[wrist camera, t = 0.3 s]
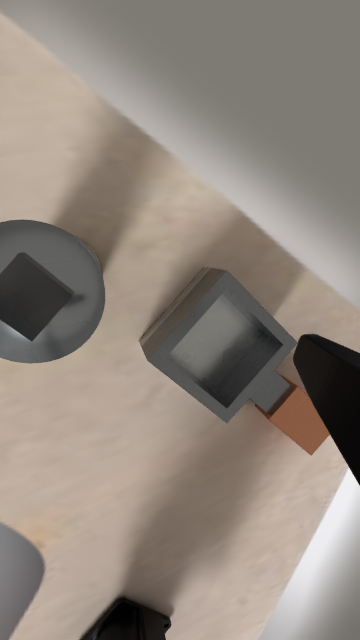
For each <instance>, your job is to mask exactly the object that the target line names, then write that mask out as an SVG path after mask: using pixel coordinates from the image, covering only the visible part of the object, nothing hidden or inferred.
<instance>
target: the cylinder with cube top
mask: <svg viewBox="0 0 360 640" xmlns="http://www.w3.org/2000/svg"><path fill="white" fill-rule="evenodd" d="M104 304H105V288H104V281H103V276H102V270H101V264H100V261H99V258H98V256H97V254H96V252H95V251H94V250H93V249H92V248H91V247H90V246H89V245H88V244H87V243H85V242H84V241H82V240H80V239H78V238H76V237H75V236H73V235H71V234H69V233H67V232H66V231H64V230H62V229H60V228H57V227H55V226H53V225H50V224H47V223H43V222H38V221H33V220H11V221H6V222H1V223H0V357H1V358H3V359H7V360H10V361H15V362H20V363H42V362H48V361H52V360H56V359H59V358H62V357H64V356H66V355H68V354H70V353H72V352H74V351H75V350H77V349H78V348H79V347H81V346H82V345H83V344H84V343H85V342H86V341H87V340H88V339H89V338H90V337H91V335H92V334H93V333H94V331H95V330H96V328H97V326H98V324H99V322H100V320H101V317H102V314H103V310H104Z"/></svg>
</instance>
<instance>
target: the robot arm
mask: <svg viewBox="0 0 360 640" xmlns="http://www.w3.org/2000/svg"><path fill="white" fill-rule="evenodd" d="M293 361H294V365H295V367H296V369H297V371H298V373H299V376H300V378H301V380H302V382H303V384H304V386H305V389H306V391H307V393H308V395H309V397H310V400H311V402H312V404H313V406H314V407H315V409H316V411H317V413H318V415H319V416H320V418H321V420H322V421H323V423H324V425H325V427H326V428H327V430H328V432H329V433H330V435H331V437H332V439H333V440H334V442H335V444H336V446H337V447H338V449H339V451H340V452H341V454H342V456H343V458H344V459H345V461H346V463H347V464H348V466H349V468H350V470H351V471H352V473H353V475H354V477H355V478H356V480H357V482H358V483H359V485H360V353H358V352H356V351H354V350H351V349H349V348H347V347H344V346H342V345H340V344H337V343H335V342H333V341H331V340H328V339H326V338H324V337H321V336H319V335H317V334H304V335H302V336H301V337H300V339H299V342H298V344H297V347H296V350H295V353H294V356H293ZM170 627H171V620H170V618H169V617H167V616H164V615H162V614H160V613H158V612H156V611H153V610H151V609H149V608H147V607H144V606H142V605H140V604H138V603H136V602H133V601H131V600H129V599H127V598H124V597H123V598H119V599H118V600H117V601H116V602H115V603H114V604H113V606H112V607H111V608H110V609H109V610H108V611H107V612H106V614H105V615H104V616H103V617H102V618H101V619H100V620H99V622H98V623H97V624H96V625H95V626H94V627H93V628H92V630H91V631H90V632H89V633H88V634H87V635H86V636H85V637H84V639H83V640H166V638H165V633H166V632H167V630H168V629H169V628H170Z"/></svg>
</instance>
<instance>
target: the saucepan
mask: <svg viewBox="0 0 360 640" xmlns="http://www.w3.org/2000/svg"><path fill="white" fill-rule="evenodd" d="M139 343H140V345H141V347H142V349H143V352H144V354H145V356H146V358H147V361H149V362H150V363H151V364H152V365H154V366H155V367H156V368H158V369H159V370H160V371H161V372H163V373H164V374H165V375H166V376H168V377H169V378H170V379H171V380H173V381H174V382H175V383H177V384H178V385H179V386H180V387H182V388H183V389H184V390H185V391H187V392H188V393H189V394H190V395H192V396H193V397H194V398H196V399H197V400H198V401H199V402H201V403H202V404H203V405H204V406H206V407H207V408H208V409H209V410H211V411H212V412H213V413H215V414H216V415H217V416H218V417H220V418H221V419H222V420H223V421H225V422H226V423H228V422H229V420H230V419H231V418H232V417H233V416H234V415H235V414H236V413H237V411H238V410H239V409H240V408H241V407H242V406H243V405H244V403H245V402H246V401H247V400H248V399H249V398H250V399H251V400H252V401H254V402H255V403H256V407H257V408H258V409H259V410H260V411H261V412H262V413H263V414H264V415H265V416H266V417H267V418H268V419H269V420H270V421H271V422H272V423H273V424H274V425H276V426H277V427H278V428H279V429H280V430H282V431H283V432H284V433H285V434H286V435H287V436H289V437H290V438H291V439H292V440H293V441H294V442H296V443H297V444H298V445H299V446H300V447H302V448H303V449H304V450H305V451H306V452H307V453H309V454H310V455H312V454H313V453H314V452H315V451H316V450H317V448H318V447H319V446H320V445H321V444H322V443H323V442H324V440H325V439H326V438H327V437H328V436H329V435H330V433H329V432H328V430H327V428H326V427H325V425H324V423H323V421H322V420H321V418H320V416H319V415H318V413H317V411H316V409H315V407H314V406H313V404H312V402H311V400H310V398H309V397H308V396H307V395H306V394H305V393H304V392H303V391H302V390H301V389H300V388H299V387H298V386H296V385H295V384H293V383H292V382H291V381H289V380H288V379H286V378H285V377H283V376H280V375H279V374H278V373H277V372H276V371H275V370H274V369H275V368H276V367H277V366H278V365H279V364H280V363H281V361H282V360H283V359H284V358H285V357H286V356H287V355H288V353H289V352H290V351H291V350H292V349H293V348H294V347H295V346H296V344H297V342H296V341H295V340H294V339H293V338H292V337H291V336H290V334H289V333H288V332H287V331H286V330H285V329H284V328H283V327H282V326H281V325H280V324H279V323H278V322H277V321H276V320H275V319H274V318H273V317H272V316H271V315H270V314H269V313H268V312H267V311H266V310H265V309H264V308H263V307H262V306H261V305H260V304H259V303H258V302H257V301H256V300H255V299H254V298H253V297H252V295H251V294H250V293H249V292H248V291H247V290H246V289H245V288H244V287H243V286H242V285H241V284H240V283H239V282H238V281H237V280H236V279H235V278H234V277H233V276H232V275H231V274H230V273H229V272H228V271H227V270H221V269H215V268H209V267H204V268H203V269H202V270H201V271H200V272H199V273H198V275H197V276H196V277H195V278H194V279H193V280H192V281H191V282H190V284H189V285H188V286H187V287H186V288H185V289H184V290H183V292H182V293H181V294H180V295H179V296H178V297H177V298H176V299H175V301H174V302H173V303H172V304H171V305H170V306H169V307H168V309H167V310H166V311H165V312H164V313H163V314H162V315H161V316H160V318H159V319H158V320H157V321H156V322H155V323H154V324H153V326H152V327H151V328H150V329H149V330H148V331H147V332H146V333H145V335H144V336H143V337H142V338H141V339H140V340H139Z"/></svg>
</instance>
